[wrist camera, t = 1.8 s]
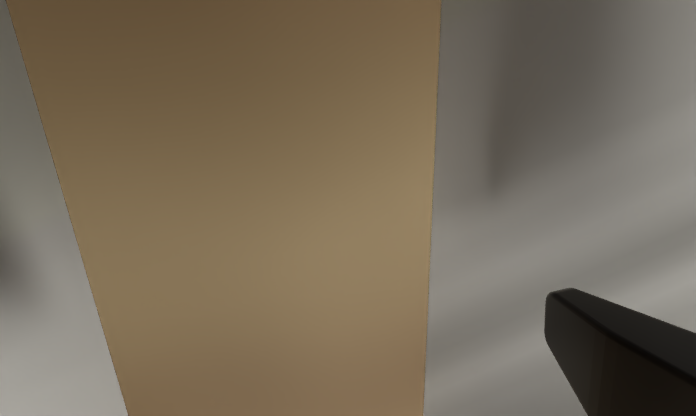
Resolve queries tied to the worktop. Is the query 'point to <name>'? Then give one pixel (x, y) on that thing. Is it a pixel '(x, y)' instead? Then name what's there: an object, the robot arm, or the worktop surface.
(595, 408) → the robot arm
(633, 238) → the worktop surface
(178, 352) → the oak bar
